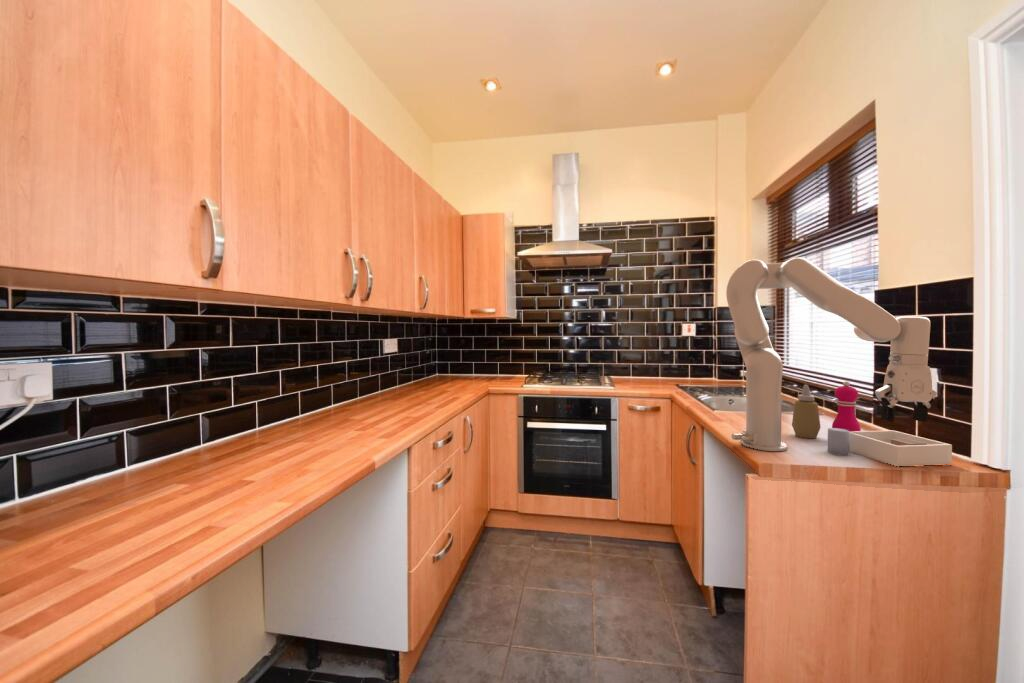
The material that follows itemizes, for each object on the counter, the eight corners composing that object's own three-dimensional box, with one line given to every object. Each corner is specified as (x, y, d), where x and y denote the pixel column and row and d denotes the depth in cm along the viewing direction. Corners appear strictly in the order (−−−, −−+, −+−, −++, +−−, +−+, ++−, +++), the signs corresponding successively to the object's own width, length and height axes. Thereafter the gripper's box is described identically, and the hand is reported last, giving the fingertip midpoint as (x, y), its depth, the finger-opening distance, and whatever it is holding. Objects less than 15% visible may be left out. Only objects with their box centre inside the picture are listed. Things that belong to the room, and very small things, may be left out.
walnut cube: (909, 462, 107) (909, 444, 107) (890, 456, 112) (890, 439, 112) (926, 461, 108) (926, 443, 107) (906, 455, 113) (907, 438, 112)
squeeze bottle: (826, 438, 133) (826, 386, 133) (809, 440, 131) (809, 387, 130) (802, 432, 141) (803, 383, 140) (786, 434, 139) (786, 384, 138)
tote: (897, 467, 105) (897, 446, 105) (845, 449, 121) (845, 431, 121) (951, 465, 106) (952, 444, 106) (892, 447, 122) (892, 430, 121)
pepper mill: (826, 439, 132) (827, 380, 131) (841, 437, 134) (841, 379, 133) (850, 445, 125) (851, 383, 124) (866, 443, 127) (866, 382, 126)
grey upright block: (837, 456, 115) (837, 432, 115) (823, 450, 120) (823, 428, 120) (853, 455, 115) (854, 432, 115) (838, 450, 120) (838, 427, 120)
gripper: (892, 361, 105) (888, 424, 106) (952, 362, 106) (948, 424, 107) (866, 358, 112) (862, 417, 113) (922, 359, 113) (918, 417, 114)
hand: (903, 420), depth 110 cm, fingers open, 9 cm apart
